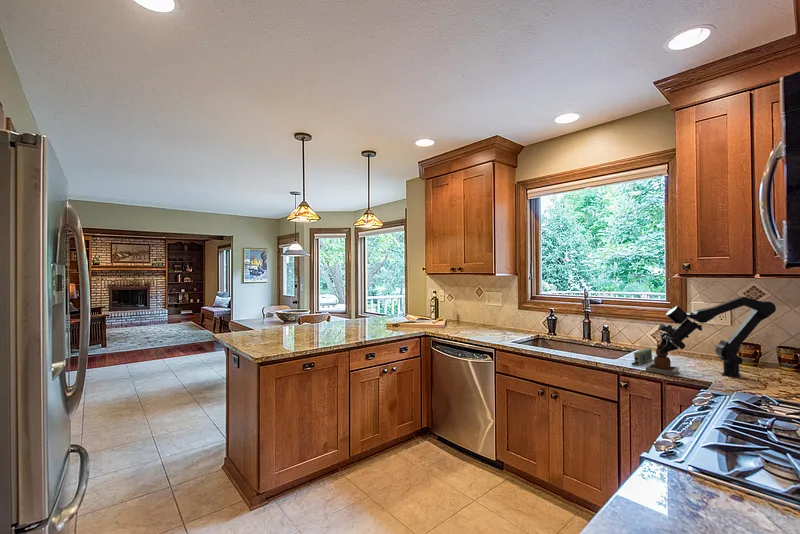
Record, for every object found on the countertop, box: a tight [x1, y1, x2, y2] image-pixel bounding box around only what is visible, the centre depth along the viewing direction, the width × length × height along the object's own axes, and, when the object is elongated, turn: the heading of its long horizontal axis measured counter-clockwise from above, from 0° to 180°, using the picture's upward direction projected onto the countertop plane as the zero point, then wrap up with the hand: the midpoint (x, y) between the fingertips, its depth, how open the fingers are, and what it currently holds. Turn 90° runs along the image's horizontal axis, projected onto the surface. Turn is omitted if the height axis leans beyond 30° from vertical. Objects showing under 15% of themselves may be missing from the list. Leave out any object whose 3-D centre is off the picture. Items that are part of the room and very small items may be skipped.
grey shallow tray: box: [645, 363, 680, 376], centre depth 190 cm, size 11×12×2 cm
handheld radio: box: [631, 347, 653, 366], centre depth 210 cm, size 7×3×25 cm
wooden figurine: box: [653, 340, 672, 370], centre depth 190 cm, size 7×6×15 cm
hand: (658, 352), depth 191 cm, fingers open, 5 cm apart
